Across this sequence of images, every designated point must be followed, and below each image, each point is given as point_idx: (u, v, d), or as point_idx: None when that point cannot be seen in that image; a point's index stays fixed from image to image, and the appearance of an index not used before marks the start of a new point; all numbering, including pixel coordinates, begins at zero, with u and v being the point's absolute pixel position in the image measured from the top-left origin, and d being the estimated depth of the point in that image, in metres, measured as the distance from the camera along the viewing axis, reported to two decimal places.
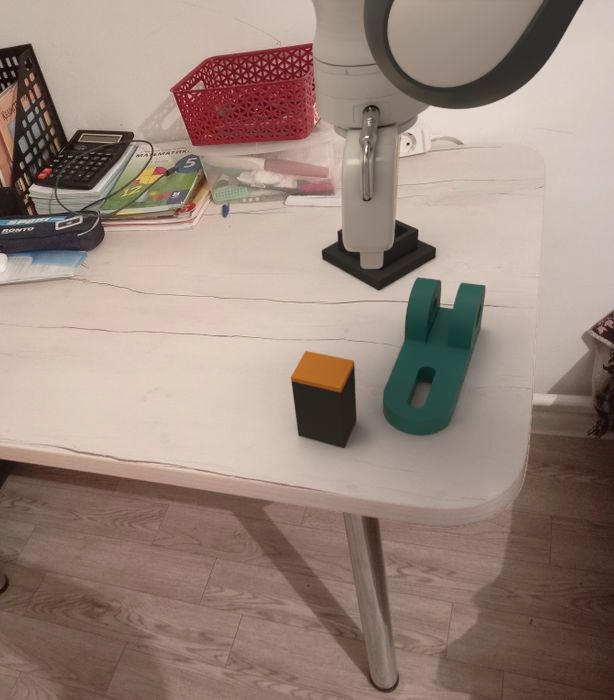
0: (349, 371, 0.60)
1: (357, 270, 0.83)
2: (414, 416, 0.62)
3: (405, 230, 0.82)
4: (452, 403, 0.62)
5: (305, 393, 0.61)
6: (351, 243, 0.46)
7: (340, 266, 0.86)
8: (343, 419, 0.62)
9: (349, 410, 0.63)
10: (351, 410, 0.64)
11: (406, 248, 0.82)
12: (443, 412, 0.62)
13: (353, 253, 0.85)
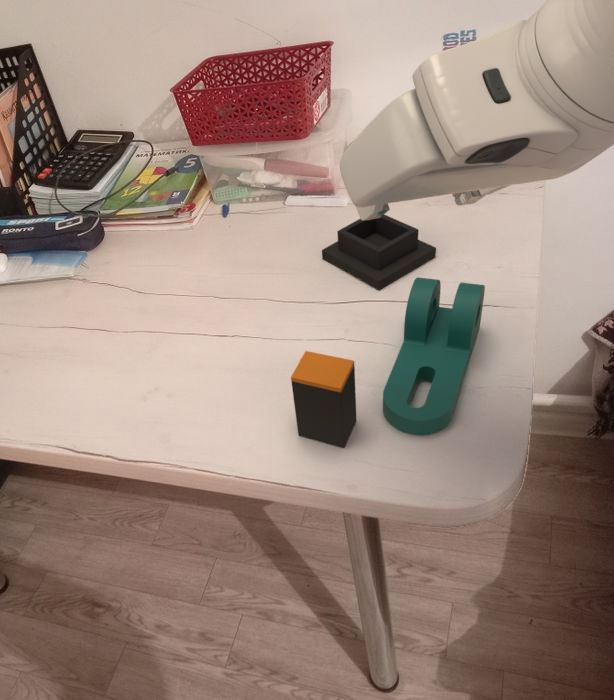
0: (349, 371, 0.60)
1: (357, 270, 0.83)
2: (414, 416, 0.62)
3: (405, 230, 0.82)
4: (452, 403, 0.62)
5: (305, 393, 0.61)
6: None
7: (340, 266, 0.86)
8: (343, 419, 0.62)
9: (349, 410, 0.63)
10: (351, 410, 0.64)
11: (406, 248, 0.82)
12: (443, 412, 0.62)
13: (353, 253, 0.85)
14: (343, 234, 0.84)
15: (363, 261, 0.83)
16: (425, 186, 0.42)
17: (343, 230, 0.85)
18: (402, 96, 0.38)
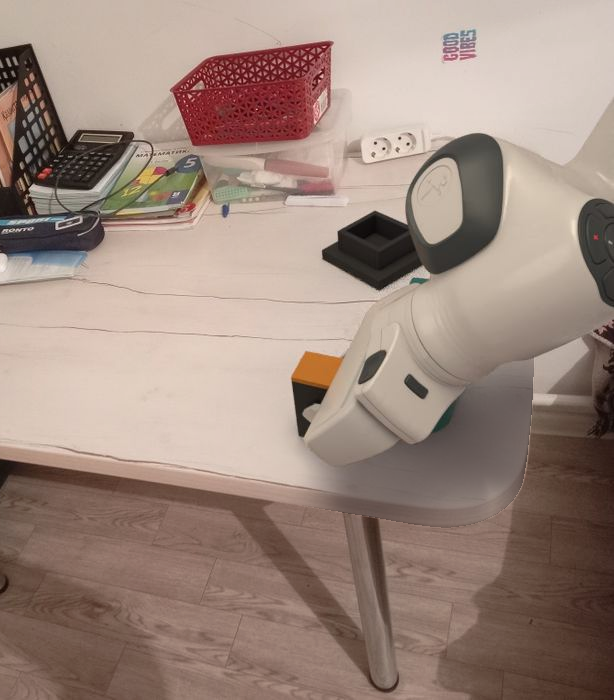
0: None
1: (357, 270, 0.83)
2: None
3: (405, 230, 0.82)
4: None
5: (305, 393, 0.61)
6: None
7: (340, 266, 0.86)
8: None
9: None
10: None
11: (406, 248, 0.82)
12: None
13: (353, 253, 0.85)
14: (343, 234, 0.84)
15: (363, 261, 0.83)
16: None
17: (343, 230, 0.85)
18: (352, 408, 0.49)
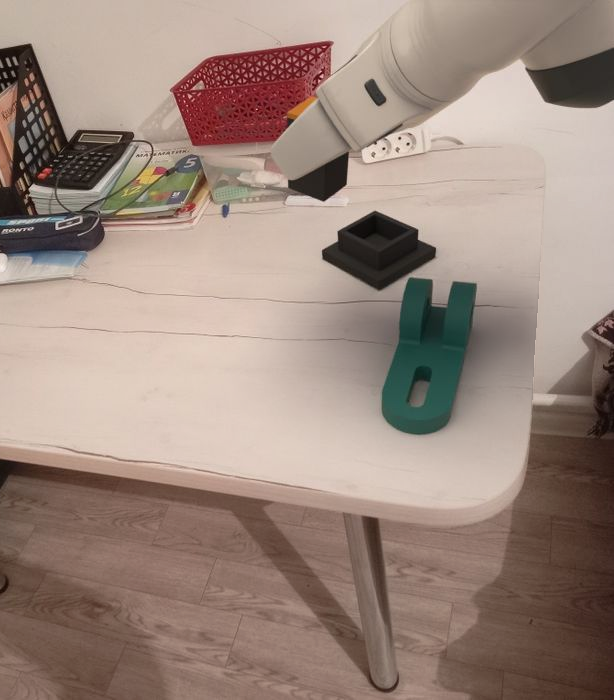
0: None
1: (357, 270, 0.83)
2: (414, 416, 0.62)
3: (405, 230, 0.82)
4: (451, 401, 0.62)
5: None
6: None
7: (340, 266, 0.86)
8: (327, 166, 0.64)
9: (337, 162, 0.65)
10: (340, 165, 0.66)
11: (406, 248, 0.82)
12: (443, 411, 0.62)
13: (353, 253, 0.85)
14: (343, 234, 0.84)
15: (363, 261, 0.83)
16: None
17: (343, 230, 0.85)
18: (311, 107, 0.52)
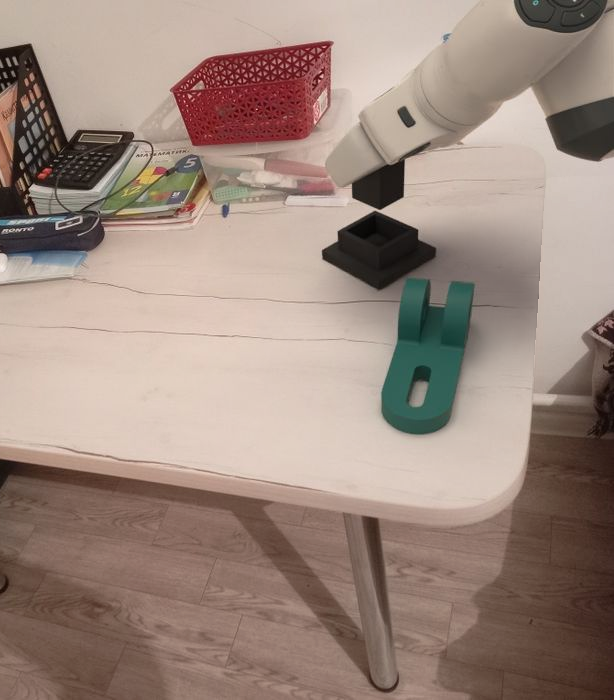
0: None
1: (357, 270, 0.83)
2: (414, 415, 0.62)
3: (405, 230, 0.82)
4: (450, 401, 0.62)
5: None
6: None
7: (340, 266, 0.86)
8: (382, 179, 0.75)
9: (392, 176, 0.76)
10: (396, 179, 0.77)
11: (406, 248, 0.82)
12: (443, 410, 0.62)
13: (353, 253, 0.85)
14: (343, 234, 0.84)
15: (363, 261, 0.83)
16: None
17: (343, 230, 0.85)
18: (355, 128, 0.65)
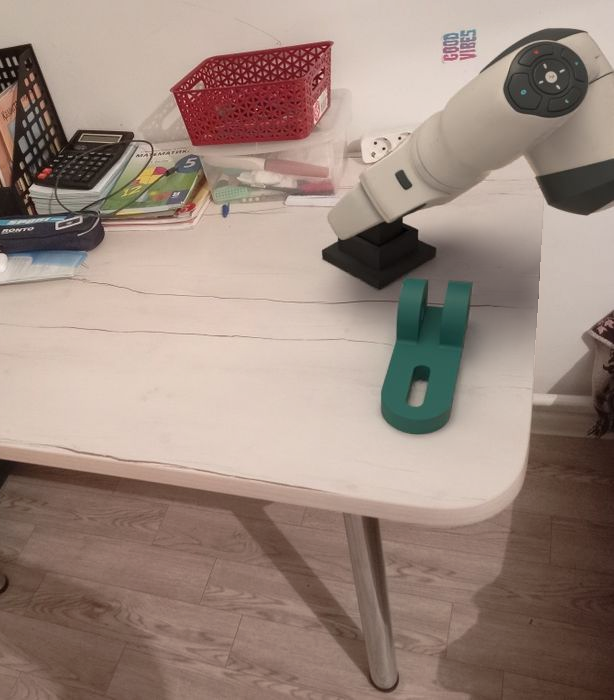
0: None
1: (357, 270, 0.83)
2: (414, 415, 0.62)
3: (405, 230, 0.82)
4: (450, 400, 0.63)
5: None
6: None
7: (340, 266, 0.86)
8: (381, 233, 0.80)
9: (391, 231, 0.81)
10: (394, 233, 0.82)
11: (406, 248, 0.82)
12: (442, 410, 0.62)
13: (353, 253, 0.85)
14: None
15: (363, 261, 0.83)
16: None
17: None
18: (355, 187, 0.69)
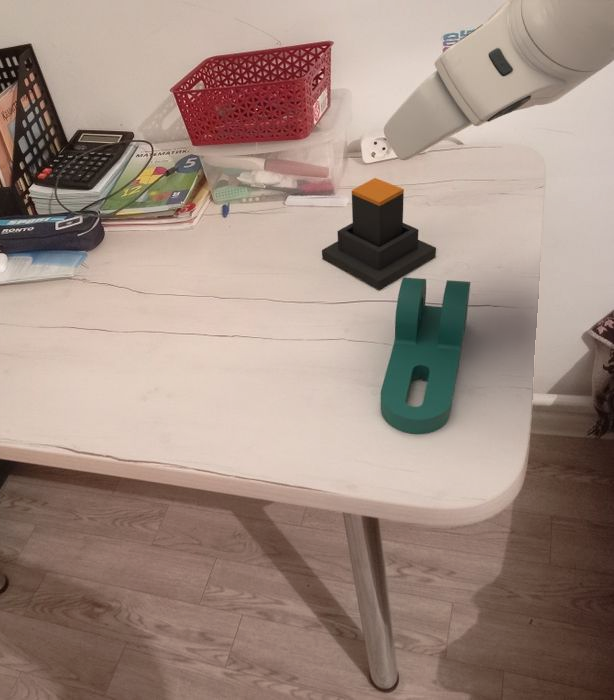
0: (395, 194, 0.78)
1: (357, 270, 0.83)
2: (414, 415, 0.62)
3: (405, 230, 0.82)
4: (450, 400, 0.63)
5: (359, 206, 0.81)
6: None
7: (340, 266, 0.86)
8: (381, 233, 0.80)
9: (391, 231, 0.81)
10: (394, 233, 0.82)
11: (406, 248, 0.82)
12: (442, 410, 0.62)
13: (353, 253, 0.85)
14: (343, 234, 0.84)
15: (363, 261, 0.83)
16: None
17: (343, 230, 0.85)
18: (429, 79, 0.50)
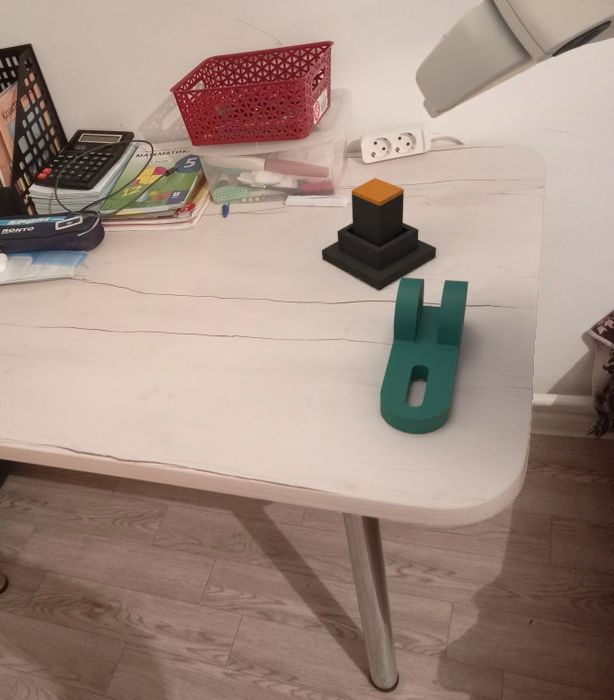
0: (395, 194, 0.78)
1: (357, 270, 0.83)
2: (414, 415, 0.62)
3: (405, 230, 0.82)
4: (449, 400, 0.63)
5: (359, 206, 0.81)
6: None
7: (340, 266, 0.86)
8: (381, 233, 0.80)
9: (391, 231, 0.81)
10: (394, 233, 0.82)
11: (406, 248, 0.82)
12: (442, 409, 0.62)
13: (353, 253, 0.85)
14: (343, 234, 0.84)
15: (363, 261, 0.83)
16: (500, 77, 0.44)
17: (343, 230, 0.85)
18: (477, 4, 0.40)
